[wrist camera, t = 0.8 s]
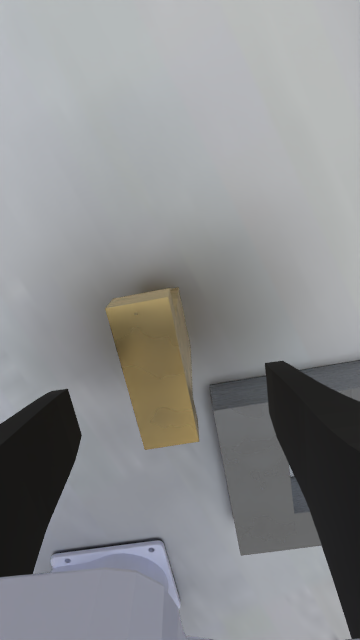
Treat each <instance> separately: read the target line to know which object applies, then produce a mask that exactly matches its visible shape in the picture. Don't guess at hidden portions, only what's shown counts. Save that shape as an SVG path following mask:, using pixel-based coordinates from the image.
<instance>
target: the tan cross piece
mask: <svg viewBox="0 0 360 640" xmlns="http://www.w3.org/2000/svg"><path fill="white" fill-rule="evenodd" d="M105 309H106V313H107V317H108V320H109V324H110V327H111V331H112V334H113V338H114V342H115V345H116V349H117V352H118V356H119V359H120V363H121V367H122V370H123V374H124V377H125V381H126V385H127V388H128V392H129V395H130V399H131V402H132V406H133V410H134V413H135V417H136V420H137V424H138V427H139V431H140V435H141V438H142V442H143V445H144V449H145V450H147V449H154V448H160V447H167V446H173V445H180V444H186V443H193V442H199V431H198V419H197V415H196V410H195V405H194V400H193V392H192V369H191V347H190V342H189V337H188V332H187V327H186V322H185V317H184V312H183V307H182V302H181V297H180V292H179V287H177V288H172V289H170V288H166V289H161V290H156V291H151V292H145V293H140V294H135V295H129V296H124V297H119V298H114V299H112V301H111V302H110V303H109V305H108V306H107V307H106V308H105Z"/></svg>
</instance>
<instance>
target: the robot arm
mask: <svg viewBox="0 0 360 640" xmlns="http://www.w3.org/2000/svg"><path fill="white" fill-rule="evenodd" d="M265 369H266V381H267V394H268V407H269V414H270V418H271V421H272V424H273V427H274V430H275V433H276V437H277V439H278V441H279V443H280V446H281V448H282V450H283V452H284V454H285V456H286V459H287V461H288V463H289V465H290V467H291V469H292V471H293V474H294V476H295V478H296V480H297V482H298V484H299V486H300V489H301V491H302V493H303V495H304V498H305V500H306V502H307V505H308V507H309V510H310V513H311V516H312V519H313V522H314V525H315V527H316V530H317V533H318V536H319V539H320V542H321V545H322V548H323V551H324V554H325V557H326V560H327V563H328V566H329V569H330V572H331V575H332V578H333V581H334V584H335V587H336V590H337V593H338V596H339V600H340V603H341V606H342V609H343V612H344V615H345V618H346V622H347V625H348V628H349V631H350V635H351V638H352V639H347V640H360V401H357V400H355V399H352V398H350V397H348V396H346V395H344V394H341V393H339V392H337V391H335V390H333V389H331V388H329V387H327V386H325V385H324V384H322V383H320V382H318V381H316V380H314V379H313V378H311V377H309V376H308V375H306V374H304V373H303V372H301V371H299V370H298V369H296V368H294V367H293V366H291V365H289V364H287V363H286V362H284V361H278V362H270V363H265ZM81 436H82V435H81V431H80V428H79V425H78V421H77V418H76V415H75V411H74V408H73V405H72V401H71V398H70V395H69V391H68V389H64V390H56V391H51V392H49V393H47V394H45V395H43V396H42V397H40V398H39V399H37V400H35V401H34V402H32V403H31V404H29V405H28V406H26V407H25V408H24V409H22V410H21V411H19V412H18V413H16V414H15V415H13V416H12V417H10V418H9V419H7V420H6V421H4V422H3V423H1V424H0V640H212V639H205V638H198V637H192V636H186V635H185V633H184V631H183V627H182V622H181V618H180V614H179V609H180V607H181V602H180V598H179V595H178V591H177V588H176V584H175V581H174V577H173V574H172V571H171V567H170V564H169V560H168V557H167V553H166V550H165V546H164V544H163V542H161V541H159V540H156V541H148V542H141V543H133V544H126V545H118V546H110V547H103V548H95V549H88V550H80V551H72V552H65V553H57V554H54V555H52V557H51V560H50V563H51V565H52V567H53V569H52V571H51V573H40V574H33V571H34V567H35V564H36V561H37V558H38V554H39V551H40V548H41V545H42V542H43V538H44V535H45V532H46V530H47V527H48V524H49V522H50V519H51V517H52V514H53V512H54V510H55V507H56V505H57V503H58V500H59V498H60V496H61V493H62V491H63V489H64V486H65V484H66V482H67V479H68V477H69V474H70V472H71V469H72V467H73V465H74V462H75V459H76V456H77V452H78V448H79V444H80V440H81Z"/></svg>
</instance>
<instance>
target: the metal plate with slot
mask: <svg viewBox="0 0 360 640" xmlns="http://www.w3.org/2000/svg"><path fill="white" fill-rule="evenodd" d="M299 371H301V372H303V373H304V374H306V375H308V376H309V377H311V378H313V379H314V380H316V381H318V382H320V383H322V384H324V385H325V386H327V387H329V388H331V389H333V390H335V391H337V392H339V393H341V394H344V395H346V396H348V397H350V398H352V399H355V400H357V401H360V360H359V361H353V362H347V363H341V364H335V365H329V366H323V367H317V368H311V369H305V370H299ZM210 392H211V399H212V406H213V413H214V418H215V423H216V428H217V434H218V439H219V444H220V449H221V455H222V460H223V465H224V470H225V476H226V481H227V486H228V491H229V497H230V502H231V507H232V512H233V517H234V523H235V528H236V533H237V538H238V544H239V549H240V554H241V556H242V555H250V554H258V553H266V552H274V551H282V550H290V549H297V548H305V547H313V546H321V542H320V539H319V536H318V533H317V530H316V527H315V525H314V522H313V519H312V516H311V513H310V510H309V507H308V505H307V502H306V500H305V498H304V495H303V493H302V491H301V489H300V486H299V484H298V482H297V480H296V478H295V477H291V478H290V471H289V463H288V461H287V459H286V456H285V454H284V452H283V450H282V448H281V446H280V443H279V441H278V439H277V437H276V433H275V430H274V427H273V424H272V421H271V418H270V414H269V407H268V394H267V381H266V376H262V377H256V378H250V379H244V380H238V381H232V382H226V383H220V384H214V385H210Z"/></svg>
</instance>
